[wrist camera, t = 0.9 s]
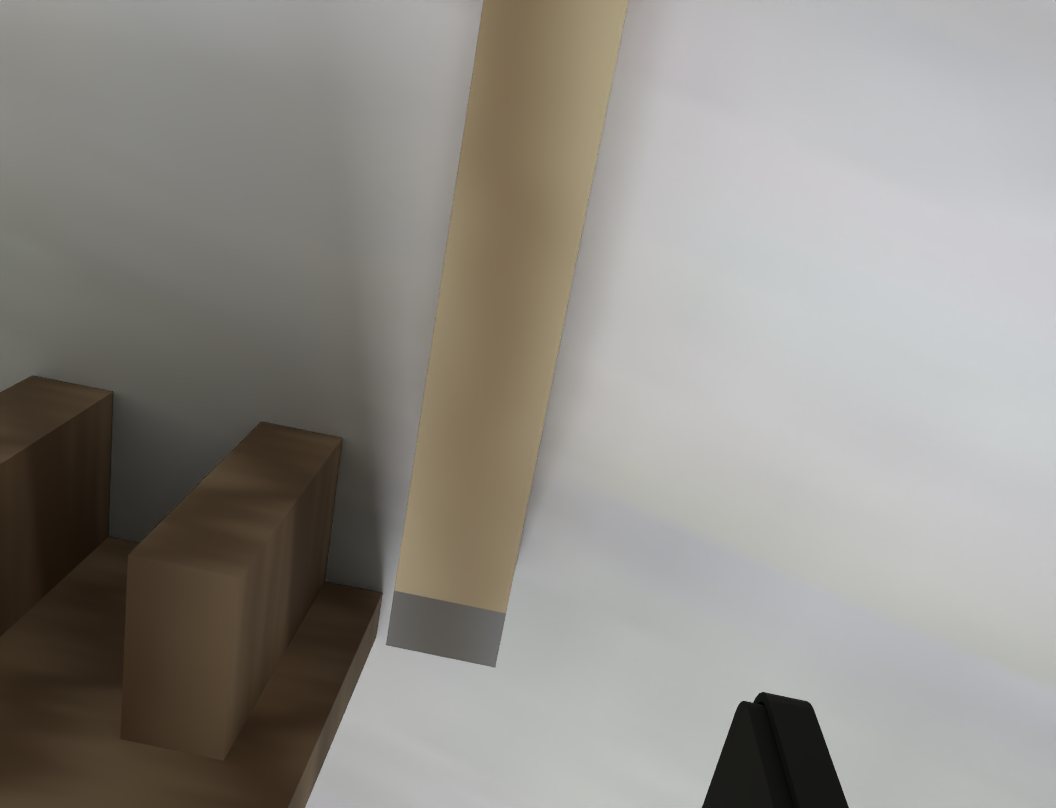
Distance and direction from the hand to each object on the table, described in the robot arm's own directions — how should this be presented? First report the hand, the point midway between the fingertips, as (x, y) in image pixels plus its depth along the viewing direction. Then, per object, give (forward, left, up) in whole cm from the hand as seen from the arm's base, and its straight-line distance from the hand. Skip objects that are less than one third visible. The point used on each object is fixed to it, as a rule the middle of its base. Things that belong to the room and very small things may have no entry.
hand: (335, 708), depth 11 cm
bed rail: (0, 0, -22) cm, 22 cm away
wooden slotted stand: (+11, +10, -22) cm, 26 cm away
